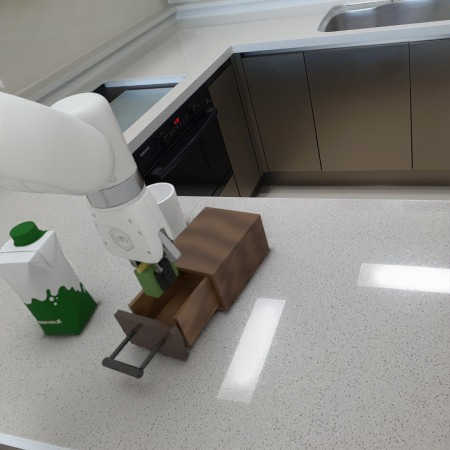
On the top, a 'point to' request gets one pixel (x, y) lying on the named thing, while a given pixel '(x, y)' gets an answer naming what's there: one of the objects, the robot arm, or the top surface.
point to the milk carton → (45, 280)
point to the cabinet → (223, 250)
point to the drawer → (166, 320)
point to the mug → (169, 206)
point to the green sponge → (150, 279)
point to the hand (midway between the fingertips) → (161, 281)
